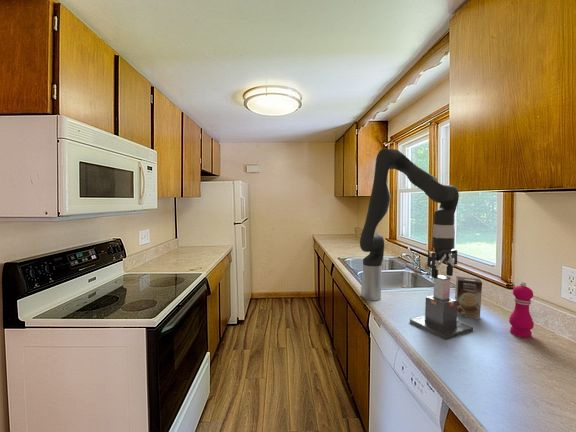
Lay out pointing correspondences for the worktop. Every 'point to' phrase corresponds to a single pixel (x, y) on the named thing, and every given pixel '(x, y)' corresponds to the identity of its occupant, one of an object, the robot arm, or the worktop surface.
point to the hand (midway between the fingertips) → (442, 276)
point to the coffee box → (468, 297)
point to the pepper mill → (521, 312)
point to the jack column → (442, 288)
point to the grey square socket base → (441, 319)
